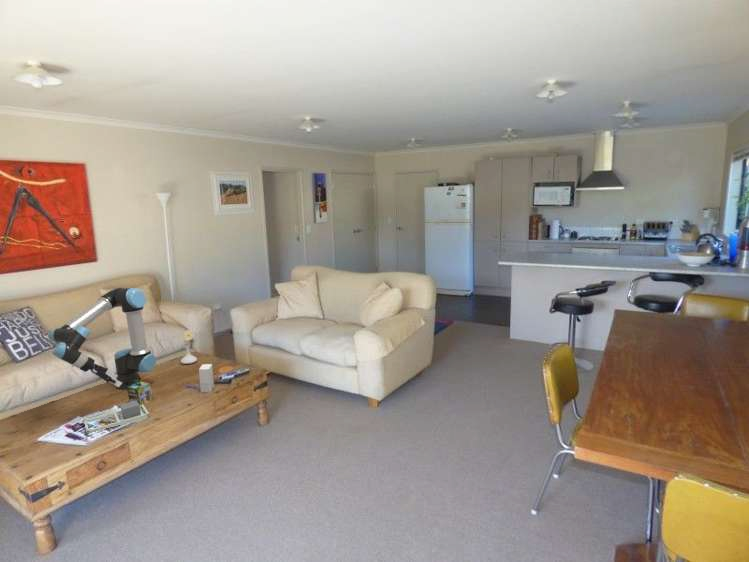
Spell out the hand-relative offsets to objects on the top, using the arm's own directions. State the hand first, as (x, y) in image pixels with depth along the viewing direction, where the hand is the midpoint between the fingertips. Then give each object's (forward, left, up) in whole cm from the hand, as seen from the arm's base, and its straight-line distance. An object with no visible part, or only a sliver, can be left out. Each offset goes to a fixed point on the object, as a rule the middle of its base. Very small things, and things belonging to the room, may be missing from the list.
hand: (118, 381), depth 261 cm
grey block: (+16, -5, -16) cm, 23 cm away
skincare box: (+26, +39, -17) cm, 50 cm away
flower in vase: (-24, +69, -17) cm, 75 cm away
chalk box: (+4, +9, -17) cm, 20 cm away
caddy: (+13, -12, -17) cm, 24 cm away
